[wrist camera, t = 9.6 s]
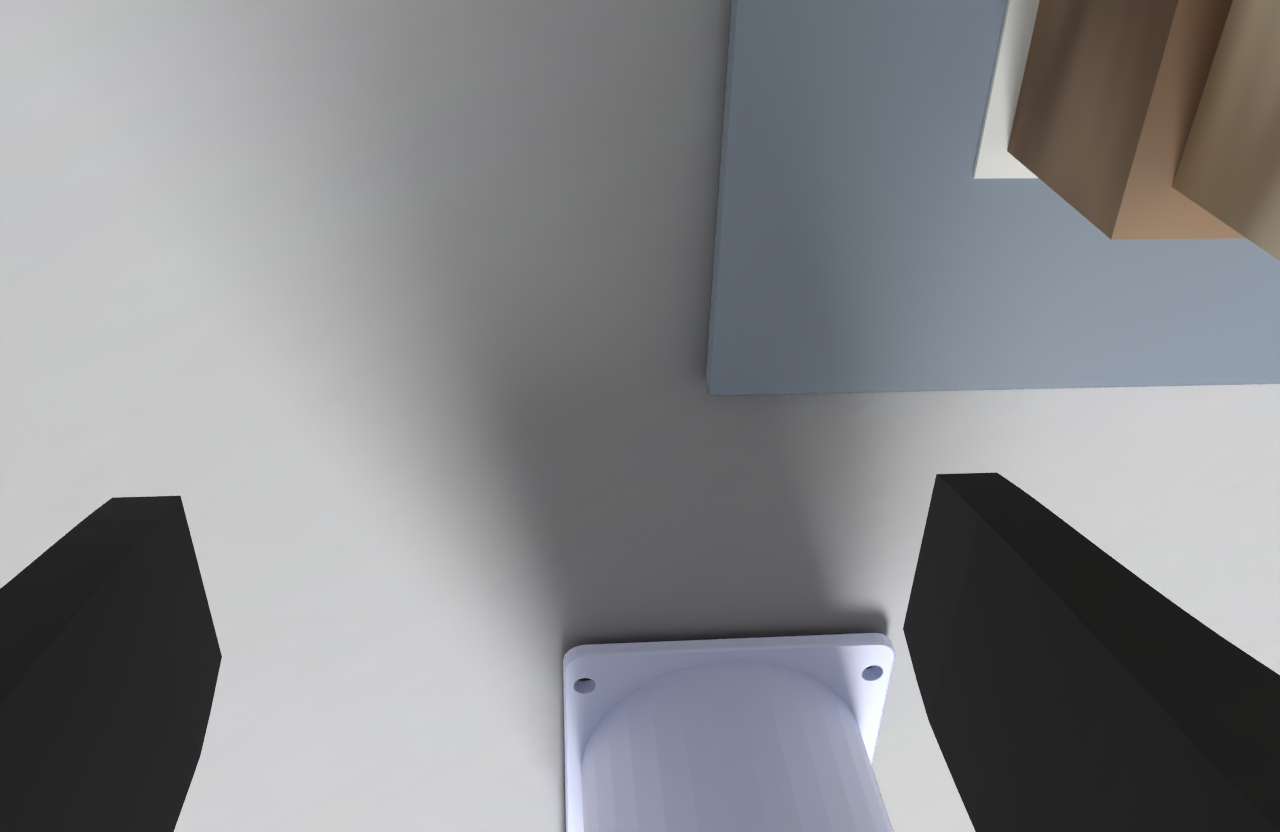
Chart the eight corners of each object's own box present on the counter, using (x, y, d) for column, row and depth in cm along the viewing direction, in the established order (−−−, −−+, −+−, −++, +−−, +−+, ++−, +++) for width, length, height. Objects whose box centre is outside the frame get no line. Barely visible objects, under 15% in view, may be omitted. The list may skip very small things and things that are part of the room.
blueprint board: (1436, 365, 23) (1459, 382, 22) (705, 380, 21) (710, 398, 21) (1847, -470, 15) (1899, -477, 15) (767, -527, 14) (777, -540, 13)
